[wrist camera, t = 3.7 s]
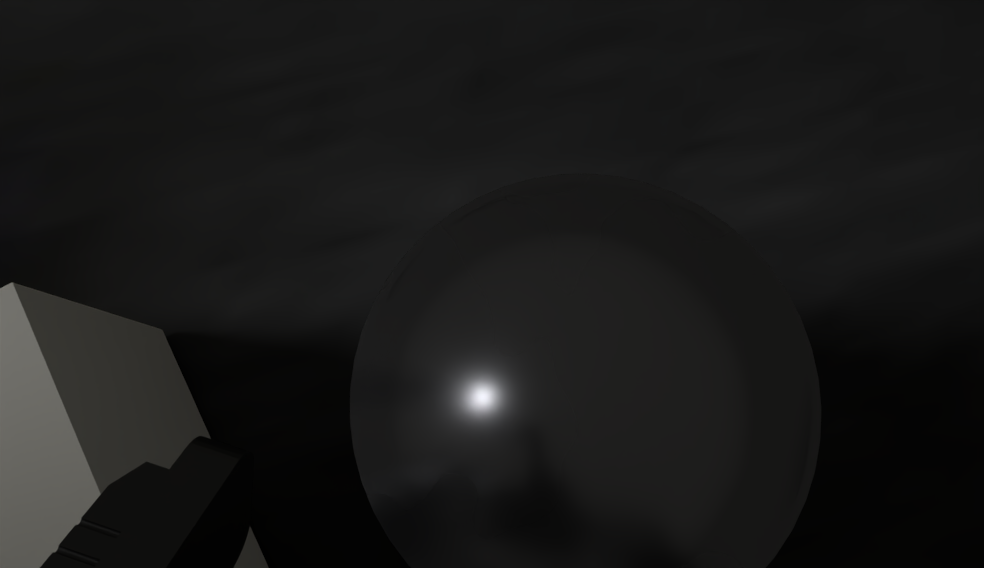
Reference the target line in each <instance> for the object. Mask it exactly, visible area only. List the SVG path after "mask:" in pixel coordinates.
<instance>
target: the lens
mask: <svg viewBox="0 0 984 568" xmlns="http://www.w3.org/2000/svg"><path fill="white" fill-rule="evenodd" d="M350 425H351V434H352V442H353V450H354V455H355V458H356V462H357V466H358V470H359V474H360V478H361V482H362V484H363V487H364V489H365V492H366V494H367V497H368V499H369V502H370V504H371V507H372V509H373V512H374V513H375V515H376V517H377V519H378V521H379V522H380V524H381V526H382V528H383V529H384V531H385V533H386V535H387V537H388V538H389V540H390V541H391V543H392V544H393V545H394V547H395V548H396V549H397V551H398V552H399V553H400V555H401V556H402V557H403V559H404V560H405V561H406V563H407V564H408V565H409V566H410V567H411V568H766V567H767V566H768V565H769V563H770V562H771V561H772V560H773V559H774V558H775V556H776V555H777V553H778V552H779V550H780V548H781V547H782V545H783V544H784V542H785V541H786V539H787V538H788V536H789V535H790V533H791V531H792V530H793V528H794V525H795V523H796V521H797V519H798V517H799V515H800V513H801V510H802V508H803V506H804V504H805V502H806V499H807V496H808V492H809V489H810V486H811V483H812V480H813V476H814V473H815V469H816V463H817V457H818V451H819V445H820V435H821V399H820V389H819V378H818V374H817V369H816V365H815V360H814V356H813V352H812V347H811V345H810V342H809V339H808V336H807V334H806V331H805V328H804V325H803V323H802V320H801V318H800V316H799V314H798V312H797V310H796V308H795V306H794V304H793V302H792V300H791V298H790V296H789V294H788V293H787V291H786V289H785V288H784V286H783V285H782V284H781V282H780V281H779V279H778V278H777V276H776V275H775V273H774V272H773V270H772V269H771V268H770V266H769V265H768V264H767V263H766V262H765V260H764V259H763V258H762V257H761V256H760V255H759V254H758V253H757V251H756V250H755V249H754V248H753V247H752V246H751V245H750V244H749V243H748V242H747V241H746V240H745V239H744V238H743V237H741V236H740V235H739V234H738V233H737V232H736V231H735V230H733V229H732V228H731V227H730V226H729V225H728V224H727V223H725V222H724V221H722V220H721V219H719V218H718V217H716V216H715V215H713V214H712V213H710V212H709V211H707V210H706V209H704V208H703V207H701V206H699V205H697V204H695V203H693V202H692V201H690V200H688V199H686V198H684V197H682V196H680V195H678V194H676V193H673V192H671V191H668V190H665V189H662V188H659V187H657V186H654V185H651V184H648V183H645V182H640V181H636V180H632V179H627V178H623V177H618V176H608V175H598V174H560V175H553V176H547V177H540V178H534V179H529V180H525V181H522V182H518V183H515V184H511V185H508V186H504V187H502V188H499V189H497V190H495V191H492V192H490V193H488V194H485V195H483V196H481V197H478V198H476V199H474V200H473V201H471V202H469V203H468V204H466V205H464V206H462V207H461V208H459V209H457V210H456V211H454V212H452V213H451V214H449V215H448V216H447V217H446V218H444V219H443V220H442V221H440V222H439V223H438V224H437V225H435V226H434V227H433V228H431V229H430V230H429V231H428V232H427V233H426V234H425V235H424V236H423V237H422V238H421V239H420V240H419V241H418V242H417V243H416V244H415V245H414V246H413V247H412V248H411V249H410V250H409V251H408V252H407V253H406V254H405V256H404V257H403V258H402V259H401V261H400V262H399V263H398V265H397V266H396V267H395V269H394V270H393V271H392V272H391V274H390V275H389V277H388V278H387V280H386V282H385V283H384V285H383V287H382V289H381V290H380V292H379V294H378V296H377V297H376V299H375V301H374V303H373V305H372V308H371V310H370V312H369V315H368V317H367V320H366V322H365V324H364V327H363V329H362V333H361V336H360V340H359V344H358V347H357V351H356V354H355V358H354V365H353V372H352V379H351V386H350Z"/></svg>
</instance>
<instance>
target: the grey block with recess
mask: <svg viewBox="0 0 984 568" xmlns="http://www.w3.org/2000/svg"><path fill="white" fill-rule="evenodd" d="M198 436H204V437H207V438H210V439H211V437H210V435H209V433H208V431H207V429H206V426H205V424H204V422H203V420H202V417H201V415H200V413H199V411H198V408H197V406H196V404H195V402H194V399H193V397H192V395H191V393H190V391H189V388H188V386H187V384H186V382H185V379H184V377H183V375H182V373H181V370H180V368H179V366H178V364H177V361H176V359H175V357H174V355H173V353H172V350H171V348H170V346H169V344H168V341H167V339H166V337H165V335H164V332H163V330H162V329H159V328H156V327H153V326H149V325H146V324H143V323H140V322H137V321H134V320H130V319H127V318H124V317H121V316H118V315H115V314H111V313H108V312H105V311H102V310H99V309H96V308H92V307H89V306H86V305H83V304H80V303H76V302H73V301H70V300H67V299H64V298H61V297H57V296H54V295H51V294H48V293H45V292H42V291H38V290H35V289H32V288H29V287H26V286H23V285H19V284H16V283H13V282H12V283H10V284H8V285H6V286H4V287H2V288H0V568H40V567H41V566H42V564H43V563H44V562H45V561H46V560H47V558H48V557H49V556H50V555H51V554H52V552H54V553H55V552H56V551H57V549H58V547H59V544H60V543H61V542H62V540H63V539H64V538H65V537H66V536H67V534H68V533H69V532H70V531H71V530H72V528H73V527H74V526H75V525H78V524H79V523H80V521H81V518H82V516H83V515H84V514H85V513H86V512H87V510H88V509H89V508H90V507H91V506H92V504H93V503H94V502H95V501H96V500H97V498H98V497H99V496H100V495H101V494H102V492H103V491H104V490H105V489H106V488H107V486H108V485H109V484H111V483H113V482H114V481H116V480H118V479H119V478H121V477H122V476H124V475H126V474H127V473H129V472H130V471H132V470H134V469H135V468H137V467H138V466H140V465H142V464H143V463H145V462H150V463H153V464H156V465H158V466H161V467H164V468H167V469H170V468H171V466H172V465H173V464H174V462H175V461H176V460H177V459H178V457H179V456H180V455H181V453H182V452H183V451H184V449H185V448H186V447H187V446H188V444H189V443H190V442H191V441H192V440H193V439H195V438H196V437H198ZM233 568H269V567H268V565H267V563H266V561H265V558H264V556H263V554H262V552H261V549H260V547H259V545H258V543H257V540H256V538H255V536H254V534H253V531H252V529H251V527H249V531H248V535H247V538H246V541H245V544H244V547H243V549H242V551H241V554H240V556H239V558H238V560H237V562H236V564H235V566H234V567H233Z"/></svg>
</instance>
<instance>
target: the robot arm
mask: <svg viewBox="0 0 984 568" xmlns="http://www.w3.org/2000/svg"><path fill="white" fill-rule="evenodd" d="M253 466H254V458H253V454H252V453H251V452H249V451H246V450H243V449H240V448H237V447H234V446H231V445H228V444H225V443H222V442H219V441H216V440H213V439H210V438H207V437H204V436H198V437H196V438H195V439H193V440H192V441H191V442H190V443H189V444H188V446H187V447H186V448H185V449H184V451H183V452H182V453H181V455H180V456H179V457H178V459H177V460H176V461H175V462H174V464H173V465H172V466H171V468H170V469H167V468H164V467H161V466H158V465H156V464H153V463H150V462H145V463H143V464H142V465H140V466H138V467H137V468H135V469H134V470H132V471H130V472H129V473H127V474H126V475H124V476H122V477H121V478H119V479H118V480H116V481H114V482H113V483H111V484H109V485H108V486H107V488H106V489H105V490H104V491H103V492H102V494H101V495H100V496H99V497H98V498H97V500H96V501H95V502H94V503H93V504H92V506H91V507H90V508H89V509H88V510H87V512H86V513H85V514H84V515H83V516H82V518H81V521H80V523H79V524H78V525H75V526H74V527H73V528H72V530H71V531H70V532H69V533H68V534H67V536H66V537H65V538H64V539H63V540H62V542H61V543H60V544H59V547H58V549H57V551H56V552H55V553H54V552H52V554H51V555H50V556H49V557H48V558H47V560H46V561H45V562H44V563H43V564H42V566H41V567H40V568H233V567H234V566H235V564H236V562H237V560H238V558H239V556H240V554H241V551H242V549H243V547H244V544H245V541H246V538H247V535H248V531H249V527H250V521H251V505H252V485H253Z"/></svg>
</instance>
